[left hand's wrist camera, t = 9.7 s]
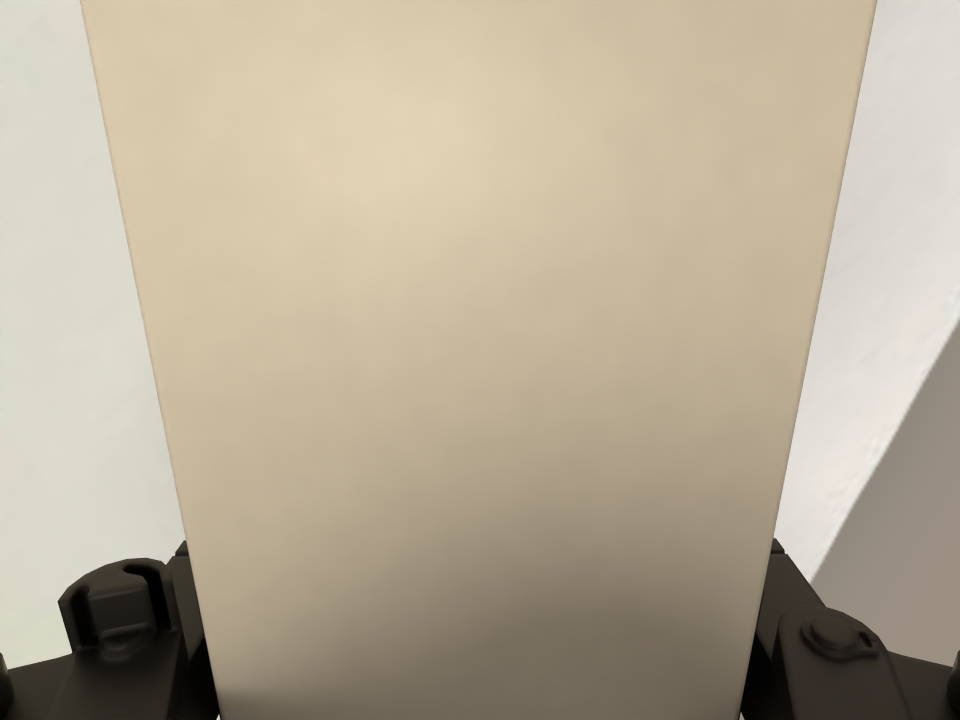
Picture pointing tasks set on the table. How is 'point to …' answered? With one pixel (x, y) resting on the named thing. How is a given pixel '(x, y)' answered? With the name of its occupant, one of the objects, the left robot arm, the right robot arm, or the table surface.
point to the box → (479, 334)
